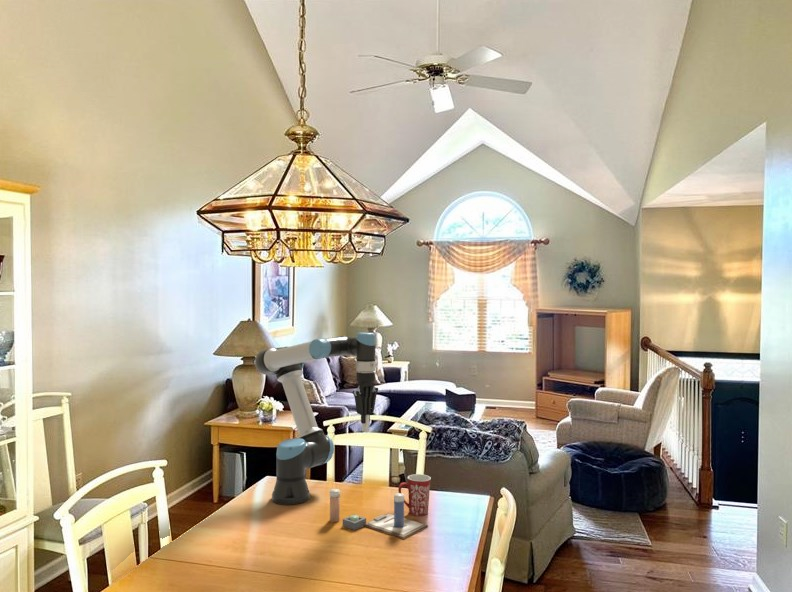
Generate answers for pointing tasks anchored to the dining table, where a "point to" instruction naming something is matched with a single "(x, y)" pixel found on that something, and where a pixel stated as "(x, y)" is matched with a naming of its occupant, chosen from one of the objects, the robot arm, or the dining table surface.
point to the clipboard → (387, 526)
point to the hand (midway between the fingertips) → (365, 431)
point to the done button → (354, 518)
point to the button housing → (354, 523)
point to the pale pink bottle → (334, 505)
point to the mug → (417, 494)
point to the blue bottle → (398, 510)
